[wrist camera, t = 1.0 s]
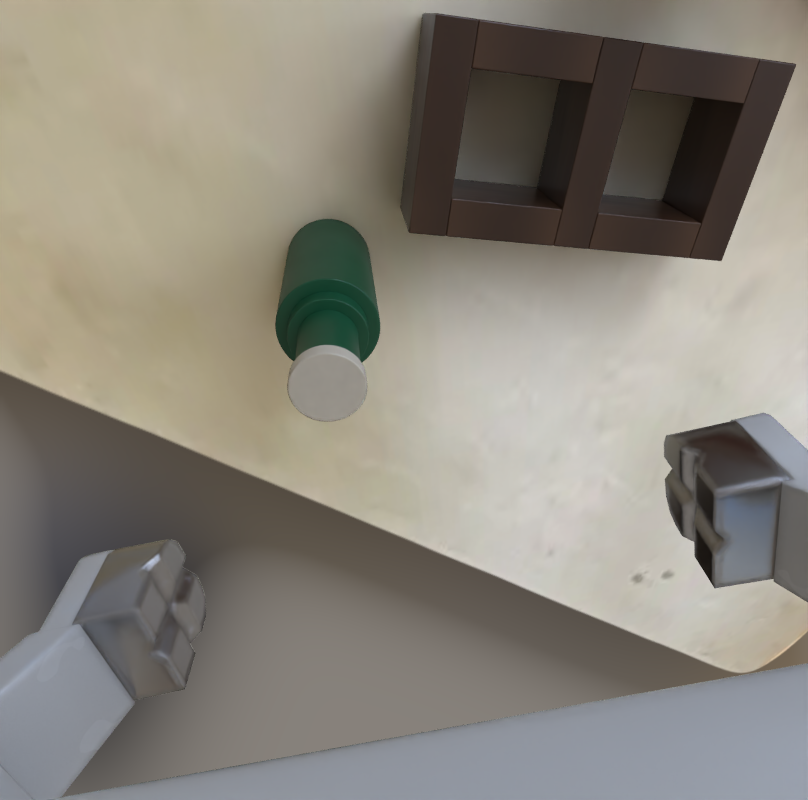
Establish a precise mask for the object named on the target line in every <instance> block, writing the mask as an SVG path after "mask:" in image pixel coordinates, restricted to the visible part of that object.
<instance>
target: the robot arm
mask: <svg viewBox="0 0 808 800" xmlns="http://www.w3.org/2000/svg"><path fill="white" fill-rule="evenodd" d="M664 457H665V459H666V460H667V462H668V463H669V465H670V466H671V468H672V470H671V471H670V473H669V474H668V476H667V477H666V478H665V487H666V497H667V502H668V506H669V510H670V513H671V515H672V518H673V520H674V522H675V525H676V526H677V528H678V530H679V531H680V533H681V535H682V536H683V537H685V538H687V539H689V540H691V541H694V544H695V558H696V559H697V561H698V562H699V564H700V566H701V567H702V569H703V570H704V572H705V574H706V575H707V577H708V578H709V580H710V582H711V583H712V585H713V586H714V588H719V587H725V586H731V585H738V584H744V583H750V582H756V581H762V580H768V579H774V582H776V583H777V584H779V585H780V586H782V587H784V588H785V589H787V590H789V591H790V592H792V593H794V594H795V595H797V596H798V597H800V598H802V599H803V600H805V601H807V602H808V450H807V449H806V448H805V447H804V446H803V445H802V444H801V443H800V442H799V441H798V440H797V439H796V438H794V437H793V436H792V435H791V434H790V433H789V432H788V431H787V430H786V429H785V428H784V427H783V426H782V425H781V424H780V423H779V422H777V421H776V420H775V419H774V418H773V417H772V416H771V415H769V414H766V413H760V414H756V415H752V416H747V417H743V418H739V419H735V420H731V421H730V422H726V423H722V424H717V425H712V426H708V427H703V428H698V429H694V430H689V431H684V432H680V433H675V434H670V435H666V438H665V442H664ZM185 558H186V555H185V553H184V552H183V550H182V549H181V547H180V545H179V544H178V542H177V541H174V540H171V539H168V540H163V541H157V542H152V543H147V544H141V545H136V546H131V547H125V548H120V549H115V550H111V551H105V552H100V553H95V554H90V555H87V556H85V557H84V558H82V559H80V560H79V562H78V563H77V565H76V567H75V569H74V571H73V572H72V574H71V576H70V578H69V579H68V581H67V583H66V585H65V586H64V588H63V590H62V592H61V593H60V595H59V597H58V599H57V601H56V602H55V604H54V606H53V608H52V609H51V611H50V613H49V615H48V616H47V618H46V620H45V622H44V624H43V625H42V627H41V629H40V631H39V632H37V633H32V634H29V635H28V636H26V637H25V638H24V639H23V640H22V641H20V642H19V643H18V644H17V645H16V646H14V647H13V648H12V649H11V650H9V651H8V652H7V653H6V654H5V655H3V656H2V657H1V658H0V800H808V663H807V664H801V665H796V666H790V667H784V668H779V669H774V670H768V671H763V672H757V673H751V674H746V675H740V676H735V677H729V678H723V679H718V680H712V681H707V682H701V683H696V684H691V685H684V686H679V687H673V688H668V689H662V690H656V691H651V692H646V693H640V694H634V695H629V696H623V697H617V698H612V699H606V700H601V701H595V702H589V703H584V704H579V705H573V706H567V707H562V708H556V709H550V710H545V711H539V712H533V713H528V714H523V715H517V716H512V717H505V718H500V719H494V720H489V721H484V722H478V723H473V724H467V725H461V726H455V727H450V728H445V729H439V730H433V731H428V732H422V733H417V734H411V735H405V736H400V737H394V738H389V739H383V740H378V741H372V742H366V743H361V744H356V745H350V746H345V747H339V748H333V749H328V750H323V751H316V752H311V753H306V754H300V755H294V756H289V757H283V758H278V759H272V760H266V761H261V762H255V763H250V764H244V765H239V766H233V767H227V768H222V769H216V770H211V771H205V772H200V773H194V774H189V775H183V776H177V777H172V778H166V779H161V780H155V781H149V782H144V783H139V784H133V785H127V786H122V787H116V788H110V789H105V790H99V791H94V792H89V793H83V794H78V795H72V796H66V797H62V795H63V794H64V793H65V791H66V790H67V789H68V788H69V786H70V785H71V784H72V783H73V781H74V780H75V779H76V777H77V776H78V775H79V774H80V772H81V771H82V770H83V769H84V767H85V766H86V765H87V763H88V762H89V761H90V760H91V758H92V757H93V756H94V755H95V753H96V752H97V751H98V749H99V748H100V747H101V746H102V744H103V743H104V742H105V741H106V739H107V738H108V737H109V735H110V734H111V733H112V732H113V730H114V729H115V728H116V727H117V725H118V724H119V723H120V722H121V720H122V719H123V718H124V716H125V715H126V714H127V712H128V711H129V710H130V709H131V707H132V706H133V705H134V704H135V702H134V700H138V699H142V698H147V697H152V696H156V695H161V694H165V693H170V692H174V691H179V690H183V689H185V687H186V684H187V681H188V677H189V674H190V670H191V667H192V664H193V660H194V657H195V652H194V650H193V649H192V647H191V645H190V643H191V642H192V641H193V640H194V639H195V638H196V637H197V636H198V634H199V633H200V632H201V631H202V629H203V625H204V621H205V617H206V599H205V595H204V591H203V588H202V585H201V583H200V581H199V579H198V577H197V575H195V574H193V573H192V572H190V571H188V570H187V569H185V568H183V564H184V561H185Z"/></svg>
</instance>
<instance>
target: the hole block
mask: <svg viewBox="0 0 808 800" xmlns="http://www.w3.org/2000/svg"><path fill="white" fill-rule="evenodd" d="M795 67H796V64H793V63H786V62H779V61H772V60H765V59H758V58H751V57H743V56H736V55H729V54H722V53H715V52H708V51H701V50H694V49H687V48H679V47H672V46H665V45H658V44H651V43H644V42H637V41H630V40H623V39H615V38H608V37H601V36H594V35H587V34H580V33H573V32H566V31H559V30H551V29H544V28H537V27H530V26H523V25H516V24H509V23H502V22H495V21H487V20H480V19H473V18H466V17H459V16H452V15H445V14H438V13H423V15H422V23H421V32H420V40H419V49H418V58H417V67H416V76H415V84H414V93H413V102H412V111H411V119H410V128H409V137H408V146H407V154H406V163H405V172H404V181H403V190H402V198H401V207H400V208H401V211H402V214H403V216H404V219H405V222H406V225H407V228H408V231H409V233H417V234H428V235H439V236H450V237H461V238H472V239H483V240H494V241H505V242H516V243H528V244H539V245H550V246H553V245H554V246H562V247H573V248H584V249H594V250H606V251H617V252H628V253H639V254H650V255H661V256H672V257H683V258H694V259H705V260H717V261H721V260H722V258H723V255H724V253H725V250H726V248H727V245H728V242H729V240H730V237H731V234H732V232H733V229H734V227H735V224H736V221H737V219H738V216H739V213H740V211H741V208H742V206H743V203H744V200H745V198H746V195H747V192H748V190H749V187H750V185H751V182H752V179H753V177H754V174H755V172H756V169H757V166H758V164H759V161H760V158H761V156H762V153H763V151H764V148H765V145H766V143H767V140H768V137H769V135H770V132H771V130H772V127H773V124H774V122H775V119H776V116H777V114H778V111H779V109H780V106H781V103H782V101H783V98H784V95H785V93H786V90H787V88H788V85H789V82H790V80H791V77H792V74H793V72H794V69H795ZM471 68H473V69H479V70H487V71H495V72H503V73H510V74H518V75H526V76H534V77H541V78H549V79H557V80H560V85H559V90H558V94H557V99H556V103H555V108H554V113H553V117H552V122H551V126H550V131H549V136H548V140H547V145H546V149H545V154H544V159H543V163H542V168H541V172H540V177H539V182H538V186H537V188H536V187H526V186H516V185H507V184H497V183H487V182H478V181H468V180H458V179H455V172H456V166H457V159H458V153H459V146H460V140H461V133H462V127H463V120H464V113H465V107H466V100H467V94H468V87H469V81H470V74H471ZM631 89H634V90H642V91H650V92H657V93H665V94H673V95H681V96H688V97H695V99H694V102H693V105H692V108H691V111H690V114H689V118H688V121H687V124H686V127H685V130H684V133H683V136H682V140H681V143H680V146H679V149H678V152H677V155H676V159H675V162H674V165H673V168H672V171H671V174H670V177H669V181H668V184H667V187H666V190H665V193H664V196H663V200H662V201H661V200H652V199H642V198H632V197H623V196H613V195H603V191H604V187H605V184H606V180H607V176H608V172H609V169H610V165H611V161H612V158H613V154H614V150H615V146H616V143H617V139H618V135H619V132H620V128H621V124H622V121H623V117H624V113H625V109H626V106H627V102H628V98H629V95H630V91H631Z"/></svg>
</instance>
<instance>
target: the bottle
mask: <svg viewBox="0 0 808 800" xmlns="http://www.w3.org/2000/svg"><path fill="white" fill-rule="evenodd" d="M275 326H276V334H277V338H278V341H279V343H280V345H281V347H282V349H283V350H284V352H285V353H286V354H287V355H288V357H289V358H290V359H291V360H293V361H294V362H293V364H292V365H291V368H290V371H289V376H288V385H287V388H288V395H289V398H290V400H291V402H292V403H293V405H294V406H295V407H296V409H297V410H298V411H300V412H301V413H302V414H304V415H305V416H307V417H309V418H311V419H314V420H318V421H337V420H341V419H344V418H346V417H348V416H350V415H351V414H353V413H354V412H355V411H357V410H358V408H359V407H360V406H361V405H362V403H363V402H364V400H365V397H366V394H367V377H366V372H365V368H364V366H363V364H362V362H363V361H364V360H365V359H367V358H368V356H369V355H370V354H371V353H372V351H373V350H374V348H375V346H376V344H377V342H378V339H379V334H380V318H379V312H378V306H377V299H376V293H375V286H374V280H373V273H372V267H371V261H370V254H369V250H368V247H367V244H366V242H365V240H364V238H363V237H362V236H361V234H360V233H359V232H358V231H357V230H356V229H354V228H353V227H352V226H350V225H348V224H346V223H344V222H342V221H338V220H333V219H323V220H317V221H314V222H311V223H309V224H307V225H306V226H304V227H303V228H301V229H300V230H299V231H298V232H297V233H296V235H295V236H294V238H293V239H292V241H291V243H290V246H289V250H288V255H287V260H286V266H285V271H284V277H283V282H282V288H281V293H280V299H279V304H278V310H277V315H276V323H275Z"/></svg>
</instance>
